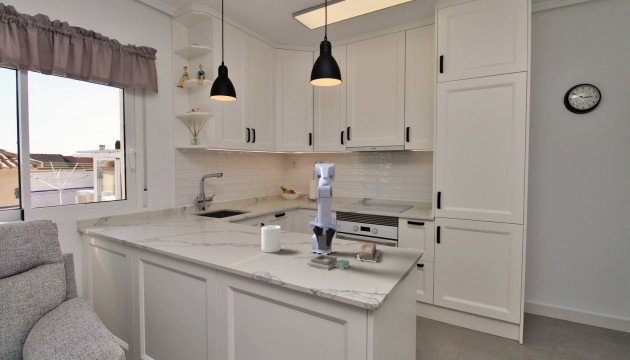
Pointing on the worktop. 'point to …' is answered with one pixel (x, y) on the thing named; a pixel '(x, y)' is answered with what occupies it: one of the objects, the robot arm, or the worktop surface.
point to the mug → (271, 238)
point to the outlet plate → (323, 261)
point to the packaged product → (369, 252)
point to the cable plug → (342, 263)
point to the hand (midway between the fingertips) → (324, 244)
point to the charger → (323, 242)
